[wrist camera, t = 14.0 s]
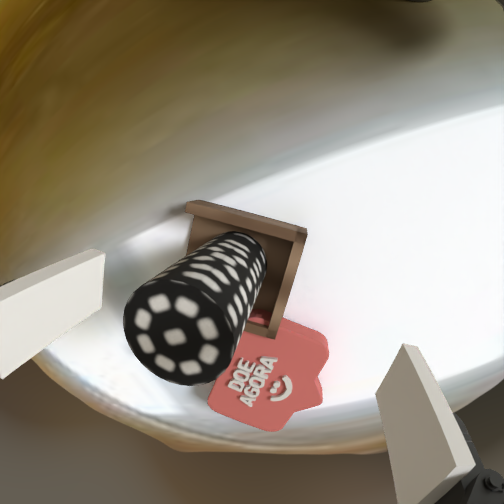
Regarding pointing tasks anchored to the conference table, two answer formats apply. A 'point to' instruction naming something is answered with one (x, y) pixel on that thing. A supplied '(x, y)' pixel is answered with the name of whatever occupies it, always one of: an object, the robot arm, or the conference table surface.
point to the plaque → (271, 375)
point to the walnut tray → (273, 243)
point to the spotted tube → (196, 310)
